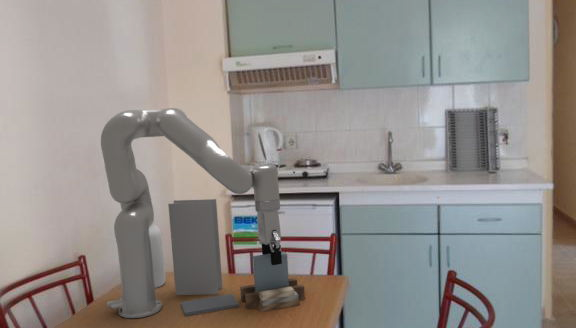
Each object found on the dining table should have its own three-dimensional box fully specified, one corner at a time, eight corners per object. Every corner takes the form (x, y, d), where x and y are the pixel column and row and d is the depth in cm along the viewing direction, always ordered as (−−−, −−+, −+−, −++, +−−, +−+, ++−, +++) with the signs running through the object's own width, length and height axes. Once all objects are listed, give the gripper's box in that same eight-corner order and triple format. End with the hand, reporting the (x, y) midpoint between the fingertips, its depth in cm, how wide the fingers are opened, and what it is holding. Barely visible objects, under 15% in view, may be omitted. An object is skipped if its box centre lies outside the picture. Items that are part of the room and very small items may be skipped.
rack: (247, 309, 153) (246, 296, 153) (241, 299, 161) (240, 286, 161) (304, 298, 159) (304, 286, 158) (295, 289, 167) (295, 277, 166)
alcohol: (135, 289, 175) (127, 202, 172) (145, 280, 184) (138, 197, 180) (160, 289, 174) (152, 201, 171) (169, 280, 183) (162, 196, 179)
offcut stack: (260, 311, 151) (259, 296, 150) (257, 307, 154) (256, 292, 153) (299, 304, 154) (298, 289, 154) (295, 300, 158) (294, 285, 157)
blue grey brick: (258, 303, 157) (255, 258, 155) (255, 300, 160) (252, 256, 158) (289, 298, 160) (287, 254, 158) (286, 294, 163) (284, 251, 161)
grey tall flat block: (222, 288, 172) (216, 199, 168) (218, 294, 167) (212, 202, 163) (180, 288, 173) (173, 200, 170) (175, 294, 168) (168, 203, 164)
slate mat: (184, 316, 150) (184, 312, 150) (181, 305, 159) (181, 302, 159) (238, 306, 155) (238, 303, 155) (232, 296, 164) (232, 293, 164)
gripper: (248, 202, 164) (253, 254, 166) (263, 211, 147) (268, 270, 149) (271, 199, 166) (275, 251, 168) (288, 208, 149) (292, 265, 152)
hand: (272, 259), depth 159 cm, fingers open, 9 cm apart
